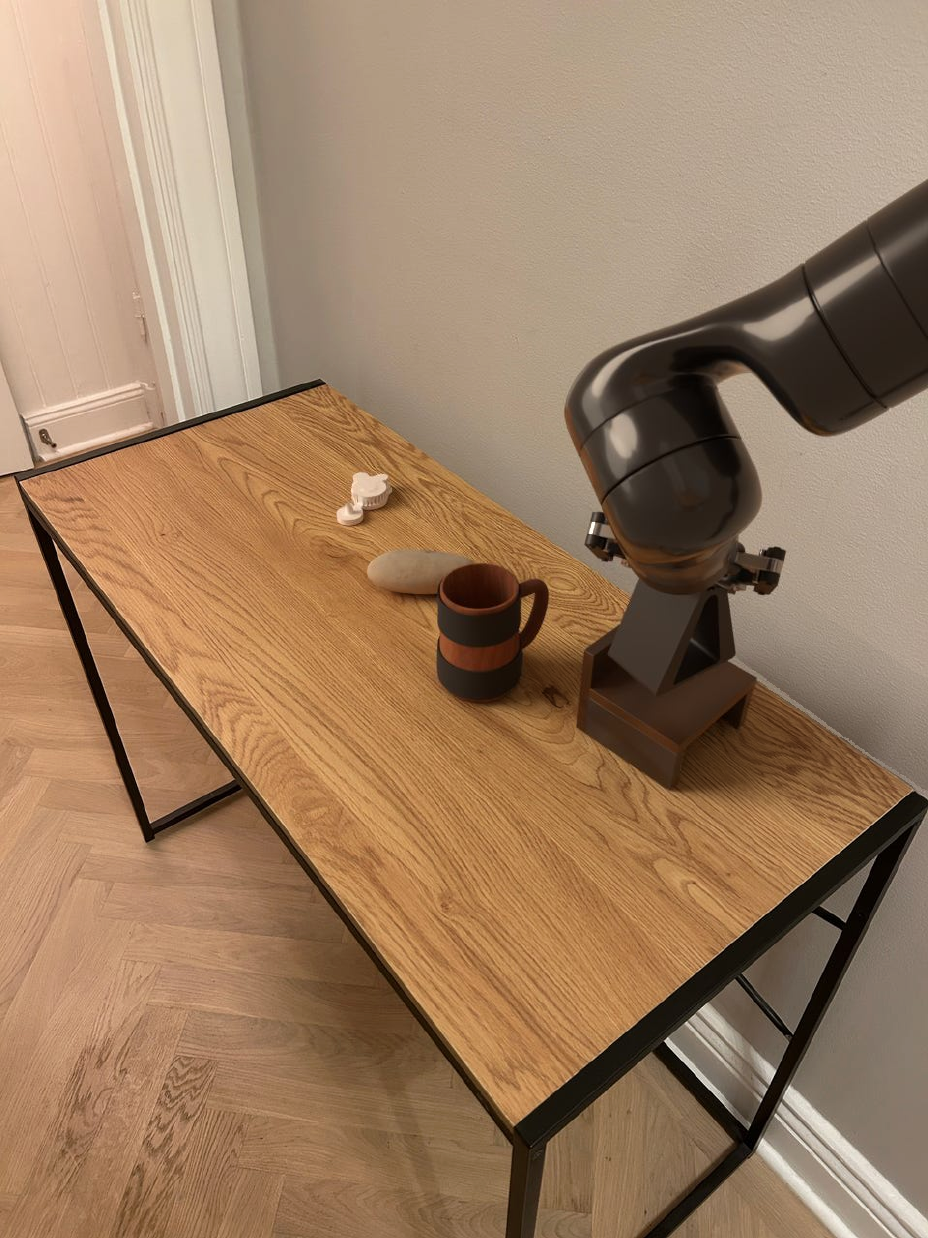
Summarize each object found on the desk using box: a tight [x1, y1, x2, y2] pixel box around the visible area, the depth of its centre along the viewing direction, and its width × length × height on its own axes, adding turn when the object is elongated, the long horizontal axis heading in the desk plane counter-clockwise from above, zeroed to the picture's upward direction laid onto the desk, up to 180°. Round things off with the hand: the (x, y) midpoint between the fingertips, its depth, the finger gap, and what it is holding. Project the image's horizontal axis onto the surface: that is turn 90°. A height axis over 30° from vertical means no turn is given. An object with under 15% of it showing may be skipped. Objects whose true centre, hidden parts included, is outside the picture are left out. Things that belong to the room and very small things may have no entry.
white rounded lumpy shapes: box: [336, 464, 393, 527], centre depth 119 cm, size 9×9×2 cm
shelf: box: [575, 623, 758, 792], centre depth 87 cm, size 11×12×10 cm
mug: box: [435, 562, 550, 704], centre depth 92 cm, size 9×12×12 cm
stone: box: [366, 548, 475, 595], centre depth 105 cm, size 6×6×12 cm
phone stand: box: [608, 578, 737, 697], centre depth 75 cm, size 9×6×12 cm, turn 123°
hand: (687, 571), depth 75 cm, fingers closed on phone stand, 6 cm apart
